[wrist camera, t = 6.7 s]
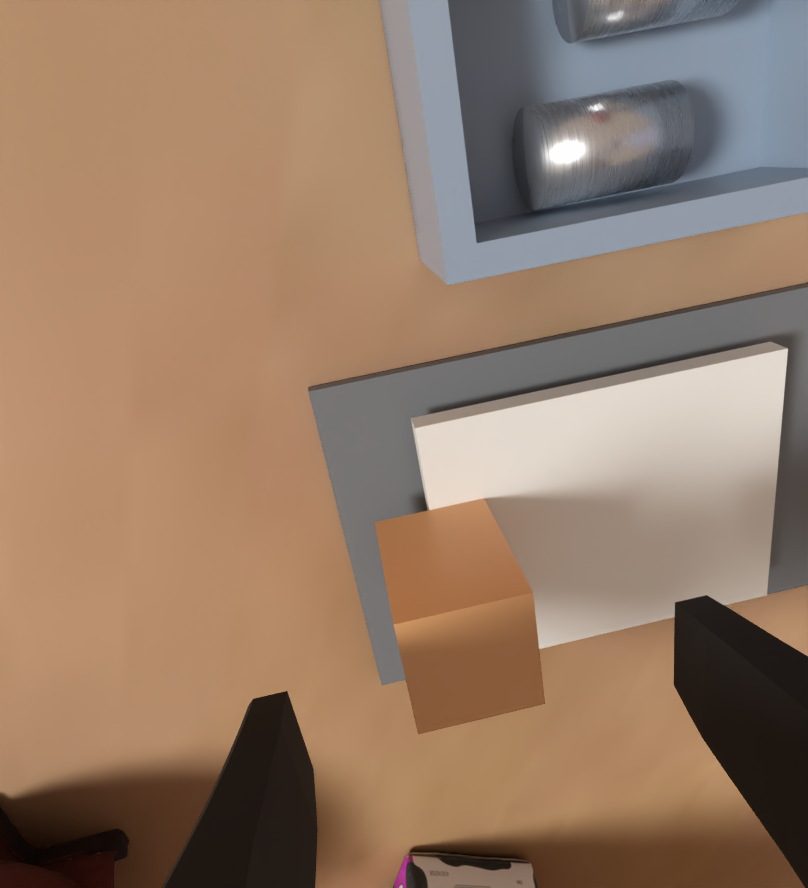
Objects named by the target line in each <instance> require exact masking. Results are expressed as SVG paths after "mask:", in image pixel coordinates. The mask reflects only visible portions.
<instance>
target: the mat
mask: <svg viewBox="0 0 808 888" xmlns="http://www.w3.org/2000/svg"><path fill="white" fill-rule="evenodd" d="M766 342H773V343H776V344H778V345H781V346H783V347H786V348H788V354H787V366H786V378H785V390H784V401H783V413H782V425H781V436H780V448H779V460H778V471H777V483H776V495H775V506H774V518H773V530H772V541H771V553H770V565H769V577H768V588H767V594H771V593H775V592H780V591H784V590H788V589H792V588H797V587H801V586H805V585H808V283H805V284H801V285H796V286H791V287H786V288H781V289H777V290H772V291H767V292H762V293H757V294H753V295H748V296H743V297H738V298H734V299H729V300H724V301H719V302H714V303H710V304H705V305H700V306H695V307H691V308H686V309H681V310H676V311H671V312H667V313H662V314H657V315H652V316H647V317H643V318H638V319H633V320H628V321H624V322H619V323H614V324H609V325H604V326H600V327H595V328H590V329H585V330H580V331H576V332H571V333H566V334H561V335H557V336H552V337H547V338H542V339H537V340H533V341H528V342H523V343H518V344H513V345H509V346H504V347H499V348H494V349H490V350H485V351H480V352H475V353H470V354H466V355H461V356H456V357H451V358H446V359H442V360H437V361H432V362H427V363H423V364H418V365H413V366H408V367H403V368H399V369H394V370H389V371H384V372H379V373H375V374H370V375H365V376H360V377H356V378H351V379H346V380H341V381H336V382H332V383H327V384H322V385H317V386H312V387H309V395H310V399H311V403H312V407H313V411H314V415H315V419H316V423H317V427H318V431H319V435H320V439H321V443H322V447H323V451H324V455H325V459H326V463H327V467H328V471H329V475H330V479H331V483H332V487H333V491H334V495H335V499H336V503H337V507H338V511H339V515H340V519H341V524H342V528H343V532H344V536H345V540H346V544H347V548H348V552H349V556H350V560H351V564H352V568H353V572H354V576H355V580H356V584H357V588H358V592H359V596H360V600H361V604H362V608H363V612H364V616H365V620H366V624H367V628H368V632H369V636H370V640H371V644H372V648H373V652H374V656H375V660H376V664H377V668H378V672H379V676H380V680H381V684H382V685H385V684H389V683H393V682H398V681H402V680H406V678H405V673H404V669H403V665H402V660H401V656H400V651H399V647H398V643H397V638H396V634H395V629H394V625H393V620H392V614H391V609H390V603H389V598H388V593H387V587H386V582H385V577H384V571H383V566H382V560H381V555H380V550H379V544H378V539H377V533H376V528H375V523H374V522H378V521H383V520H387V519H392V518H396V517H401V516H405V515H410V514H414V513H419V512H423V511H427V505H426V500H425V494H424V489H423V483H422V478H421V472H420V467H419V461H418V455H417V450H416V444H415V439H414V433H413V428H412V422H411V418H414V417H419V416H423V415H428V414H433V413H437V412H442V411H447V410H452V409H456V408H461V407H466V406H470V405H475V404H480V403H484V402H489V401H494V400H499V399H503V398H508V397H513V396H517V395H522V394H527V393H531V392H536V391H541V390H545V389H550V388H555V387H560V386H564V385H569V384H574V383H578V382H583V381H588V380H592V379H597V378H602V377H606V376H611V375H616V374H621V373H625V372H630V371H635V370H639V369H644V368H649V367H653V366H658V365H663V364H668V363H672V362H677V361H682V360H686V359H691V358H696V357H700V356H705V355H710V354H714V353H719V352H724V351H729V350H733V349H738V348H743V347H747V346H752V345H757V344H761V343H766Z"/></svg>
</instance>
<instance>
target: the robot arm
mask: <svg viewBox="0 0 808 888" xmlns="http://www.w3.org/2000/svg"><path fill="white" fill-rule="evenodd" d="M674 686H675V688H676V690H677V692H678V693H679V695H680V697H681V699H682V701H683V703H684V705H685V707H686V709H687V711H688V713H689V714H690V716H691V718H692V720H693V722H694V723H695V725H696V727H697V729H698V731H699V732H700V734H701V736H702V738H703V739H704V741H705V742H706V744H707V745H708V747H709V748H710V750H711V751H712V753H713V754H714V755H715V757H716V758H717V760H718V761H719V763H720V764H721V766H722V767H723V768H724V770H725V771H726V773H727V774H728V776H729V777H730V779H731V780H732V781H733V783H734V784H735V786H736V787H737V789H738V790H739V791H740V793H741V794H742V796H743V797H744V799H745V800H746V801H747V803H748V804H749V806H750V807H751V809H752V810H753V811H754V813H755V814H756V816H757V817H758V819H759V820H760V821H761V823H762V824H763V826H764V827H765V829H766V830H767V831H768V833H769V834H770V836H771V837H772V839H773V840H774V841H775V843H776V844H777V846H778V847H779V849H780V850H781V851H782V853H783V854H784V856H785V857H786V859H787V860H788V862H789V863H790V865H791V866H792V868H793V869H794V871H795V872H796V874H797V875H798V877H799V879H800V880H801V882H802V883H803V885H804V886H805V888H808V656H806V655H804V654H803V653H801V652H799V651H798V650H796V649H794V648H793V647H791V646H789V645H788V644H786V643H784V642H783V641H781V640H779V639H778V638H776V637H774V636H773V635H771V634H769V633H768V632H766V631H765V630H763V629H761V628H760V627H758V626H756V625H755V624H753V623H752V622H750V621H748V620H747V619H745V618H744V617H742V616H740V615H739V614H737V613H736V612H734V611H732V610H731V609H729V608H727V607H726V606H724V605H723V604H721V603H719V602H718V601H716V600H714V599H713V598H711V597H709V596H707V595H705V596H701V597H696V598H692V599H688V600H683V601H679V602H675V635H674ZM316 852H317V816H316V799H315V784H314V770H313V767H312V764H311V761H310V758H309V755H308V752H307V749H306V746H305V743H304V740H303V737H302V734H301V731H300V728H299V725H298V722H297V719H296V716H295V713H294V710H293V707H292V704H291V701H290V698H289V695H288V692H287V691H286V692H281V693H277V694H273V695H268V696H264V697H260V698H255V699H253V700H252V702H251V703H250V704H249V706H248V709H247V711H246V714H245V716H244V719H243V721H242V724H241V726H240V729H239V731H238V734H237V736H236V739H235V741H234V743H233V746H232V748H231V750H230V753H229V755H228V757H227V760H226V762H225V764H224V766H223V769H222V771H221V773H220V775H219V777H218V780H217V782H216V784H215V786H214V788H213V790H212V792H211V794H210V796H209V799H208V801H207V803H206V805H205V807H204V809H203V811H202V813H201V815H200V817H199V819H198V821H197V823H196V825H195V827H194V829H193V831H192V833H191V835H190V837H189V839H188V841H187V842H186V844H185V846H184V848H183V850H182V852H181V854H180V856H179V857H178V859H177V861H176V863H175V865H174V867H173V869H172V871H171V873H170V874H169V876H168V878H167V880H166V881H165V883H164V885H163V887H162V888H315V877H316Z"/></svg>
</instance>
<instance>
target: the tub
mask: <svg viewBox="0 0 808 888" xmlns="http://www.w3.org/2000/svg"><path fill="white" fill-rule="evenodd" d="M379 1H380V7H381V13H382V20H383V26H384V32H385V39H386V45H387V52H388V58H389V64H390V71H391V77H392V84H393V90H394V96H395V103H396V109H397V115H398V122H399V128H400V135H401V141H402V147H403V154H404V160H405V166H406V173H407V179H408V186H409V192H410V198H411V205H412V211H413V218H414V224H415V230H416V237H417V243H418V249H419V256H420V261H421V262H423V263H424V264H425V265H426V266H427V267H428V268H429V269H430V270H431V271H432V272H434V273H435V274H436V275H437V276H438V277H439V278H440V279H441V280H442V281H443V282H445V283H446V284H447V285H451V284H456V283H461V282H466V281H471V280H475V279H480V278H485V277H490V276H495V275H500V274H505V273H510V272H515V271H520V270H525V269H530V268H535V267H540V266H545V265H549V264H554V263H559V262H564V261H569V260H574V259H579V258H584V257H589V256H594V255H599V254H604V253H609V252H614V251H619V250H623V249H628V248H633V247H638V246H643V245H648V244H653V243H658V242H663V241H668V240H673V239H678V238H683V237H688V236H692V235H697V234H702V233H707V232H712V231H717V230H722V229H727V228H732V227H737V226H742V225H747V224H752V223H757V222H762V221H766V220H771V219H776V218H781V217H786V216H791V215H796V214H801V213H806V212H808V0H738V2H737V3H736V5H735V6H734V7H733V8H732V9H731V10H730V11H729V12H727V13H726V14H724V15H722V16H717V17H711V18H706V19H700V20H695V21H690V22H684V23H679V24H673V25H668V26H662V27H657V28H651V29H646V30H641V31H635V32H630V33H624V34H619V35H613V36H608V37H603V38H597V39H592V40H586V41H581V42H575V43H567V42H565V41H564V40H563V39H562V37H561V36H560V34H559V31H558V29H557V26H556V22H555V18H554V13H553V7H552V0H379ZM665 80H676V81H678V82H679V83H680V84H681V85H682V86H683V87H684V88H685V90H686V92H687V94H688V96H689V98H690V102H691V105H692V109H693V116H694V143H693V149H692V154H691V158H690V161H689V164H688V166H687V168H686V170H685V172H684V173H683V175H682V176H681V177H680V178H679V179H678V180H677V181H675V182H673V183H669V184H664V185H659V186H654V187H649V188H644V189H639V190H633V191H628V192H623V193H618V194H613V195H608V196H603V197H598V198H593V199H588V200H583V201H578V202H573V203H568V204H563V205H558V206H553V207H548V208H543V209H537V210H529V209H528V208H527V207H526V206H525V204H524V203H523V201H522V199H521V196H520V193H519V190H518V187H517V183H516V178H515V172H514V165H513V154H512V136H513V126H514V121H515V117H516V115H517V112H518V111H519V109H520V108H522V107H527V106H533V105H538V104H543V103H548V102H554V101H559V100H564V99H570V98H575V97H580V96H586V95H591V94H596V93H601V92H607V91H612V90H617V89H623V88H628V87H633V86H639V85H644V84H649V83H654V82H660V81H665Z"/></svg>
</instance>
